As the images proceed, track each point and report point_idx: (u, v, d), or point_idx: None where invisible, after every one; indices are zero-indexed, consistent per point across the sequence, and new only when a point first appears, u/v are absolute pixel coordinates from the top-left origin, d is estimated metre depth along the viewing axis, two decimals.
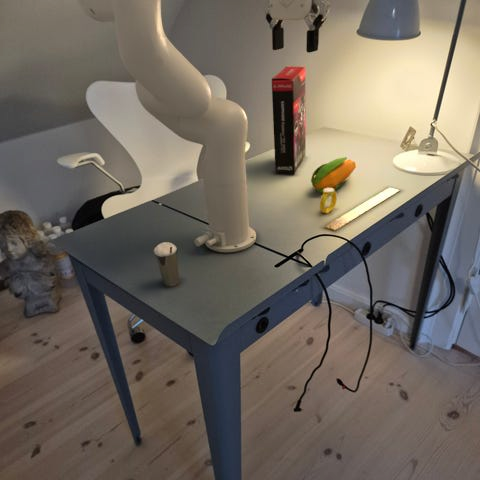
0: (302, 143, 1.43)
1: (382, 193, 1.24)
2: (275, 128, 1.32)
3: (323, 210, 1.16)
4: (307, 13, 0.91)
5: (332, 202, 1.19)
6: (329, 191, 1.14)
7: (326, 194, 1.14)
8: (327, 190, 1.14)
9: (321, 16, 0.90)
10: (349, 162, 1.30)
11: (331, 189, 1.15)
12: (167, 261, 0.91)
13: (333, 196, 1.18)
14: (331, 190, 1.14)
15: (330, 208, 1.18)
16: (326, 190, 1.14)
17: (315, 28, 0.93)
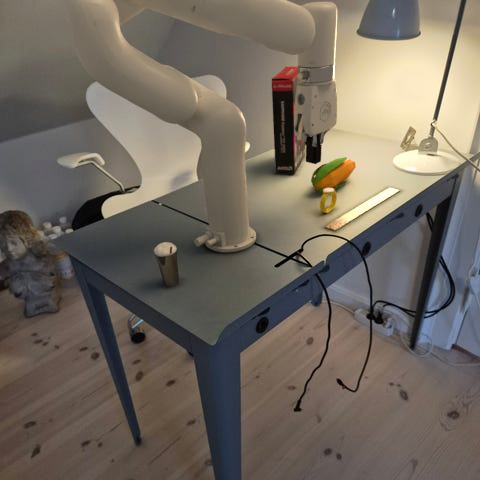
0: (302, 143, 1.43)
1: (382, 193, 1.24)
2: (275, 128, 1.32)
3: (323, 210, 1.16)
4: None
5: (332, 202, 1.19)
6: (329, 191, 1.14)
7: (326, 194, 1.14)
8: (327, 190, 1.14)
9: None
10: (349, 162, 1.30)
11: (331, 189, 1.15)
12: (167, 261, 0.91)
13: (333, 196, 1.18)
14: (331, 190, 1.14)
15: (330, 208, 1.18)
16: (326, 190, 1.14)
17: None
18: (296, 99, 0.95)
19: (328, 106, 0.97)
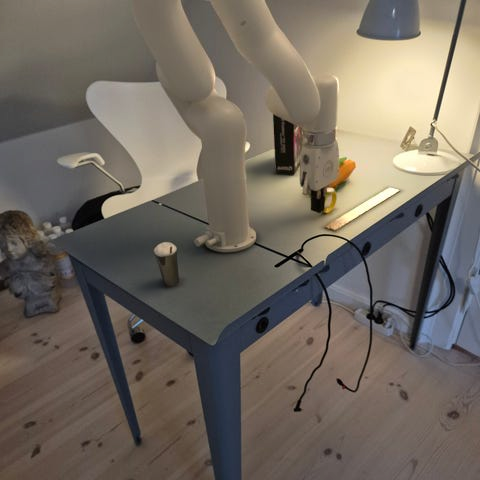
0: (302, 143, 1.43)
1: (382, 193, 1.24)
2: (275, 128, 1.32)
3: None
4: None
5: (332, 202, 1.19)
6: (329, 191, 1.14)
7: (326, 194, 1.14)
8: (327, 190, 1.14)
9: None
10: (349, 162, 1.30)
11: (331, 189, 1.15)
12: (167, 261, 0.91)
13: (333, 196, 1.18)
14: (331, 190, 1.14)
15: (330, 208, 1.18)
16: None
17: None
18: (301, 159, 1.04)
19: (331, 164, 1.06)
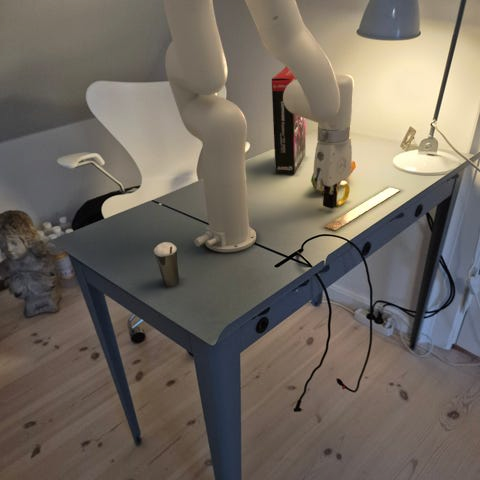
0: (302, 143, 1.43)
1: (382, 193, 1.24)
2: (275, 128, 1.32)
3: None
4: None
5: (345, 195, 1.22)
6: (342, 184, 1.17)
7: (339, 186, 1.17)
8: (340, 183, 1.17)
9: None
10: None
11: (344, 182, 1.18)
12: (167, 261, 0.91)
13: (346, 189, 1.21)
14: (344, 183, 1.17)
15: (342, 201, 1.21)
16: None
17: None
18: (316, 155, 1.07)
19: (344, 160, 1.09)
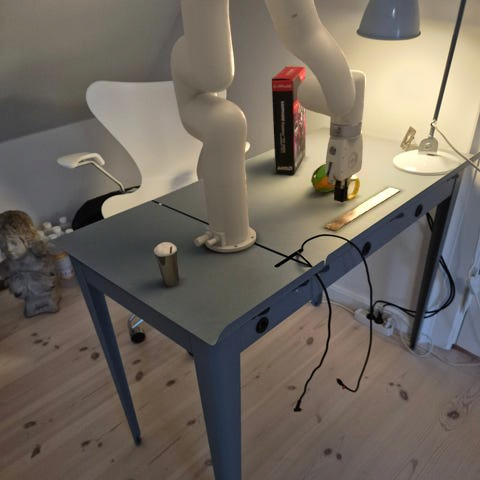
0: (302, 143, 1.43)
1: (382, 193, 1.24)
2: (275, 128, 1.32)
3: None
4: None
5: (355, 189, 1.24)
6: (352, 178, 1.19)
7: None
8: None
9: None
10: None
11: (354, 176, 1.20)
12: (167, 261, 0.91)
13: (356, 183, 1.23)
14: (354, 177, 1.20)
15: (353, 195, 1.24)
16: None
17: None
18: (328, 150, 1.10)
19: (355, 155, 1.12)
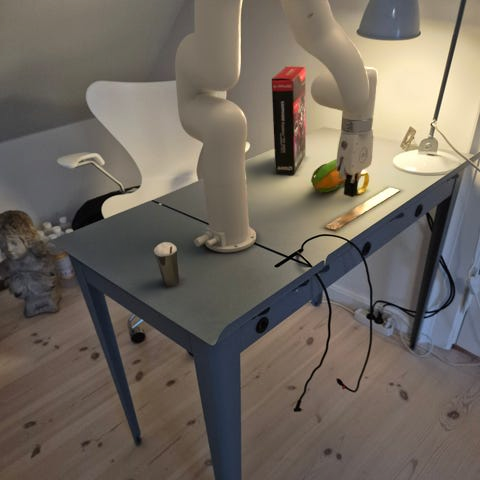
0: (302, 143, 1.43)
1: (382, 193, 1.24)
2: (275, 128, 1.32)
3: None
4: None
5: (364, 184, 1.27)
6: (362, 173, 1.22)
7: None
8: None
9: None
10: None
11: (364, 171, 1.22)
12: (167, 261, 0.91)
13: (366, 178, 1.26)
14: (364, 172, 1.22)
15: (362, 189, 1.26)
16: None
17: None
18: (339, 145, 1.12)
19: (366, 150, 1.14)
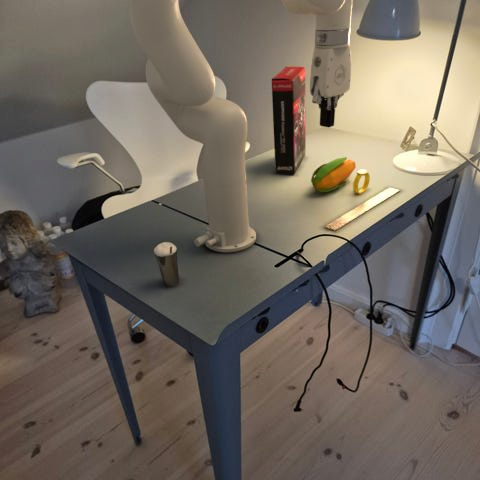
0: (302, 143, 1.43)
1: (382, 193, 1.24)
2: (275, 128, 1.32)
3: (356, 190, 1.24)
4: None
5: (365, 184, 1.27)
6: (362, 172, 1.22)
7: (360, 175, 1.22)
8: (361, 172, 1.22)
9: None
10: (349, 162, 1.30)
11: (364, 171, 1.23)
12: (167, 261, 0.91)
13: (366, 178, 1.26)
14: (364, 172, 1.22)
15: (363, 189, 1.26)
16: (360, 172, 1.22)
17: None
18: (313, 62, 1.00)
19: (343, 70, 1.02)
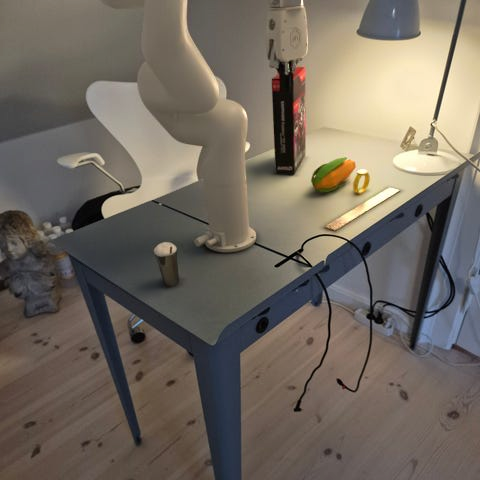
0: (302, 143, 1.43)
1: (382, 193, 1.24)
2: (275, 128, 1.32)
3: (356, 190, 1.24)
4: None
5: (365, 184, 1.27)
6: (362, 172, 1.22)
7: (360, 175, 1.22)
8: (361, 172, 1.22)
9: None
10: (349, 162, 1.30)
11: (364, 171, 1.23)
12: (167, 261, 0.91)
13: (366, 178, 1.26)
14: (364, 172, 1.22)
15: (363, 189, 1.26)
16: (360, 172, 1.22)
17: None
18: (267, 25, 1.00)
19: (298, 33, 1.02)
